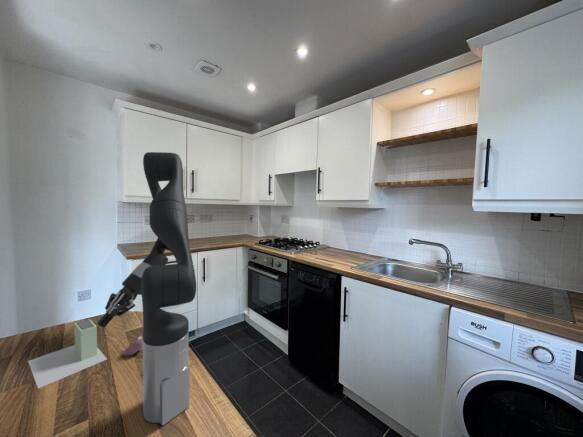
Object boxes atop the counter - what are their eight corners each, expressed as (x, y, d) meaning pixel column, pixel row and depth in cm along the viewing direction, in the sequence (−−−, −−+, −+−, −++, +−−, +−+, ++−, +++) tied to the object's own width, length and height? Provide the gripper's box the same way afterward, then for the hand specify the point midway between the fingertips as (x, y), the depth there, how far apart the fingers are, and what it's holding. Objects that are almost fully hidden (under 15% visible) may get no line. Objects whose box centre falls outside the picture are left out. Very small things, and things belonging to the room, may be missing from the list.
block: (97, 354, 71) (96, 325, 70) (81, 361, 68) (80, 330, 67) (90, 346, 75) (89, 318, 74) (75, 351, 72) (74, 322, 71)
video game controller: (134, 362, 71) (144, 343, 70) (121, 355, 71) (131, 335, 70) (154, 343, 80) (163, 326, 80) (142, 336, 80) (151, 319, 80)
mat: (107, 360, 69) (107, 359, 69) (37, 389, 58) (37, 388, 58) (90, 340, 78) (90, 339, 78) (27, 362, 67) (27, 361, 67)
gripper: (124, 269, 84) (81, 315, 75) (143, 276, 78) (99, 327, 68) (139, 279, 89) (101, 324, 80) (159, 287, 83) (120, 336, 73)
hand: (100, 325), depth 74 cm, fingers closed
